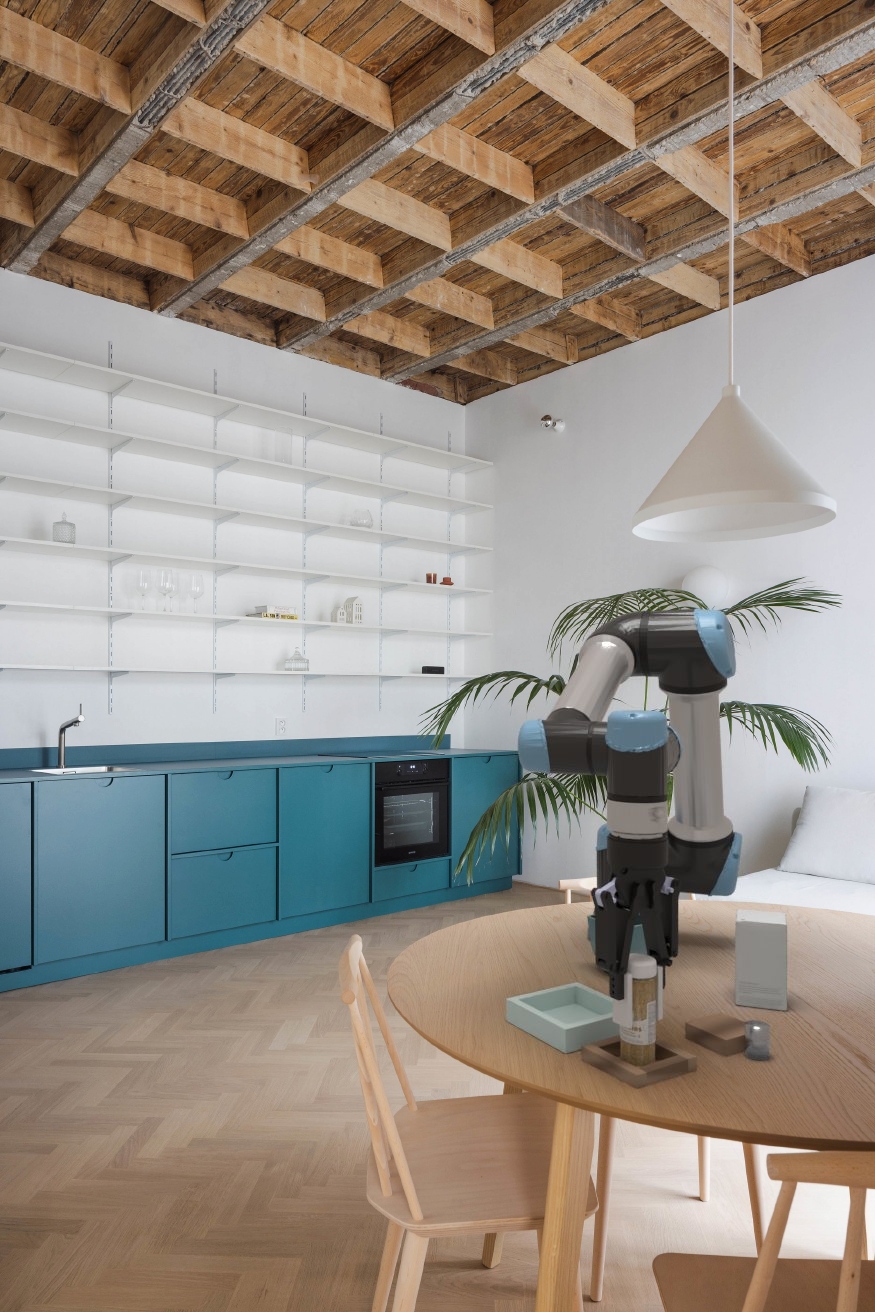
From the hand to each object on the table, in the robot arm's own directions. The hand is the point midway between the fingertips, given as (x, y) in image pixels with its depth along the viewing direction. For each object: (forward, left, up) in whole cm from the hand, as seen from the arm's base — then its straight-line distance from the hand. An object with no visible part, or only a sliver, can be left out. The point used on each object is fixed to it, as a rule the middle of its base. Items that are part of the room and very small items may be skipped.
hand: (637, 1019), depth 113 cm
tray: (-14, +1, -6) cm, 15 cm away
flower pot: (-27, +23, -6) cm, 36 cm away
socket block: (0, 0, -6) cm, 6 cm away
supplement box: (-7, +32, -6) cm, 33 cm away
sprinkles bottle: (0, 0, -6) cm, 6 cm away
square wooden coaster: (0, +15, -6) cm, 16 cm away
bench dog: (+6, +15, -6) cm, 17 cm away
